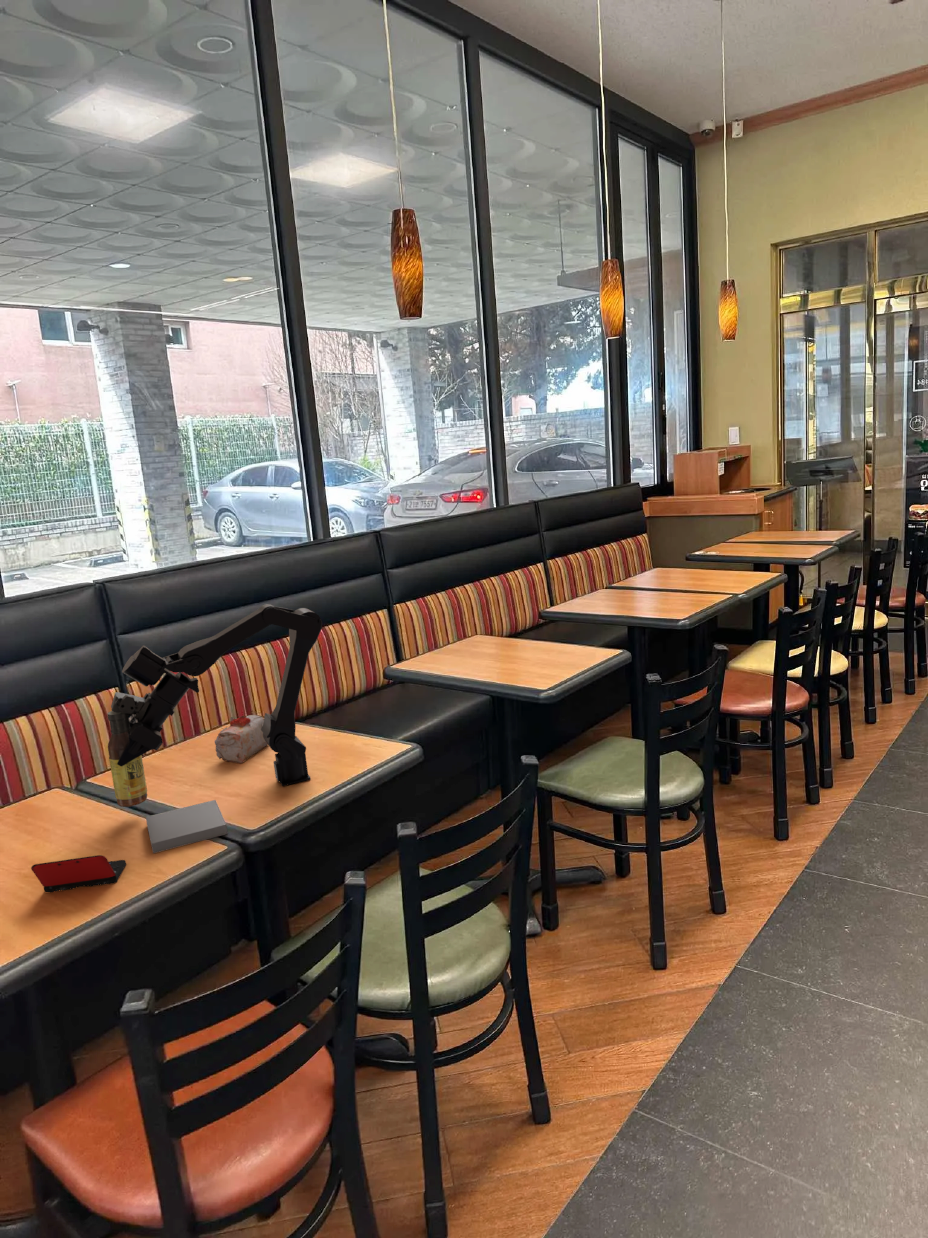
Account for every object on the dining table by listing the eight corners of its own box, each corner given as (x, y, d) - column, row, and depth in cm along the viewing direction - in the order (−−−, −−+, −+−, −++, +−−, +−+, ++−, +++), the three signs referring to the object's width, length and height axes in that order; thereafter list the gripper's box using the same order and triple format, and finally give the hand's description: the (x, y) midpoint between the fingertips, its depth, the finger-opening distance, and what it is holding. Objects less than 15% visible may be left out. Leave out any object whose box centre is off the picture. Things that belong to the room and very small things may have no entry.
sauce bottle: (138, 808, 171) (120, 717, 166) (111, 808, 172) (93, 717, 168) (155, 795, 177) (139, 706, 173) (129, 795, 178) (112, 707, 174)
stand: (216, 808, 176) (215, 799, 176) (227, 833, 164) (226, 824, 163) (147, 825, 171) (145, 816, 170) (153, 853, 158) (151, 843, 158)
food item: (243, 766, 200) (237, 727, 198) (215, 764, 202) (209, 726, 200) (272, 745, 213) (267, 708, 211) (246, 744, 215) (240, 708, 213)
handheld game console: (128, 864, 155) (121, 827, 154) (111, 894, 145) (104, 855, 143) (58, 873, 154) (51, 836, 153) (37, 904, 144) (28, 865, 142)
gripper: (127, 668, 179) (82, 728, 177) (134, 688, 162) (83, 754, 160) (172, 695, 184) (128, 754, 182) (182, 717, 167) (134, 782, 165)
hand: (118, 760), depth 172 cm, fingers closed on sauce bottle, 6 cm apart
